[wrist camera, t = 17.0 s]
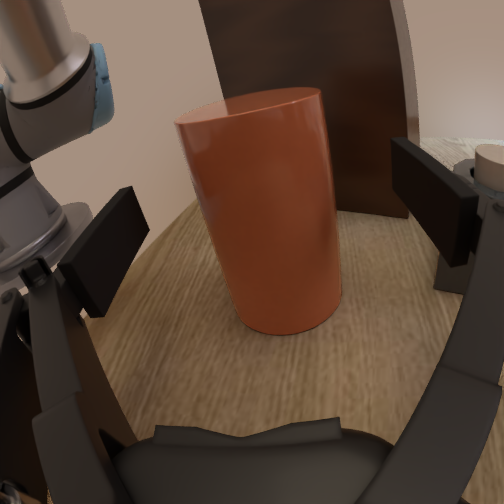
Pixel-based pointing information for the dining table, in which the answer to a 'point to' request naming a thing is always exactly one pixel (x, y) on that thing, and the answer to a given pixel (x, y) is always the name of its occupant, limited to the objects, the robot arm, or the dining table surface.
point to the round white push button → (489, 166)
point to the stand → (329, 79)
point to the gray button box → (459, 275)
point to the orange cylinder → (268, 204)
